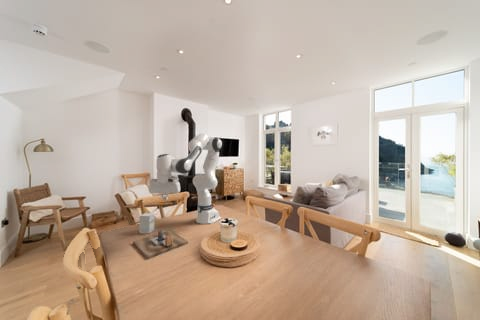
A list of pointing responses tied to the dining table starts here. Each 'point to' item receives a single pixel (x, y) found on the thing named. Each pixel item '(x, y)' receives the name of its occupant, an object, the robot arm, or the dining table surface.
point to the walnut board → (152, 250)
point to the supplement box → (146, 223)
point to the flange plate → (165, 242)
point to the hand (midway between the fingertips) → (165, 199)
